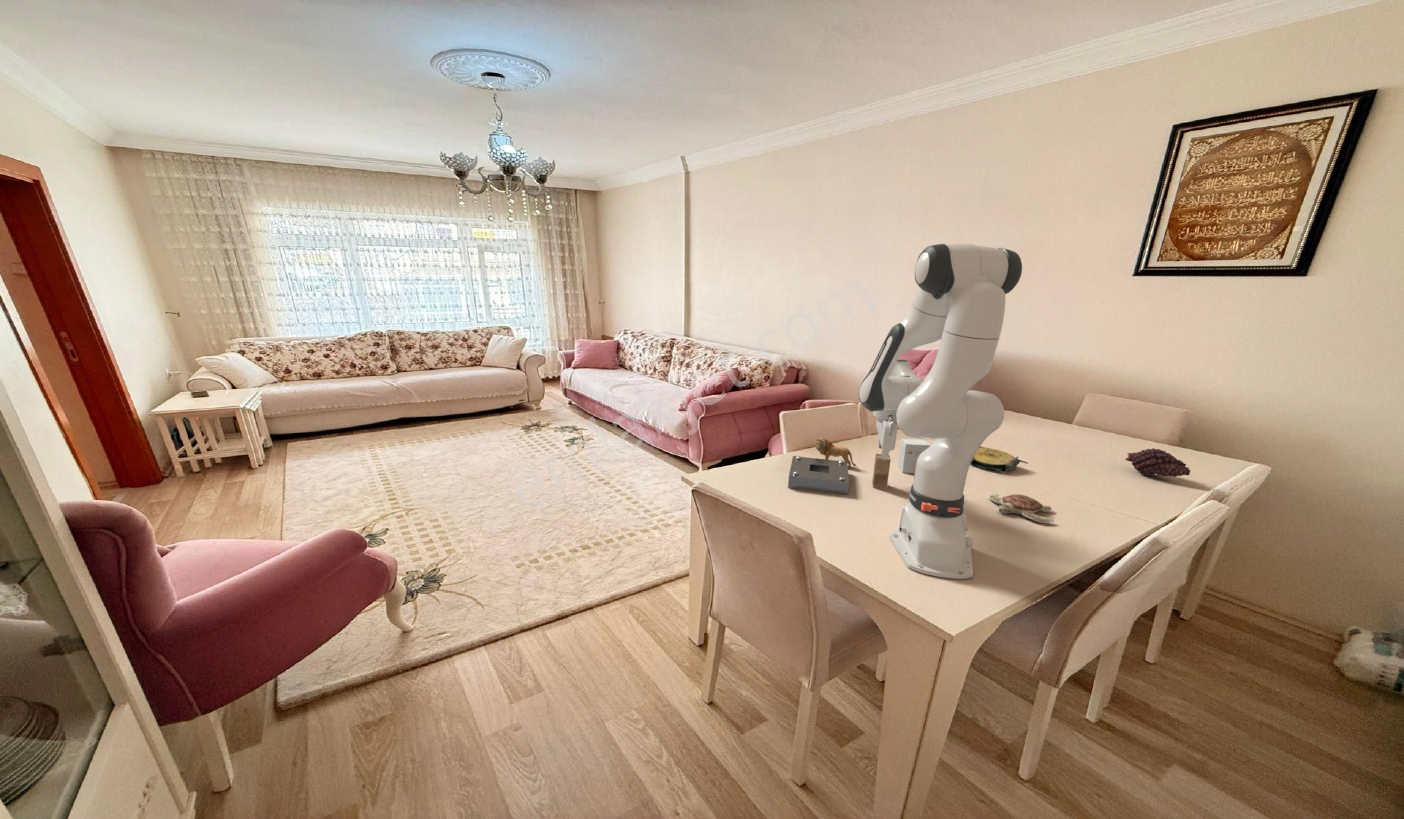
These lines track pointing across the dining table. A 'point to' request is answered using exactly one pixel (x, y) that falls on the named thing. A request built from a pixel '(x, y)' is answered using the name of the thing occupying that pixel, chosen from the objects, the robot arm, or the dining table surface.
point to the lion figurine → (833, 450)
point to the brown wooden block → (881, 472)
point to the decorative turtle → (1021, 506)
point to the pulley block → (994, 460)
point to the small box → (910, 454)
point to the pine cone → (1157, 463)
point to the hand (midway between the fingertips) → (882, 453)
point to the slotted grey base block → (819, 475)
